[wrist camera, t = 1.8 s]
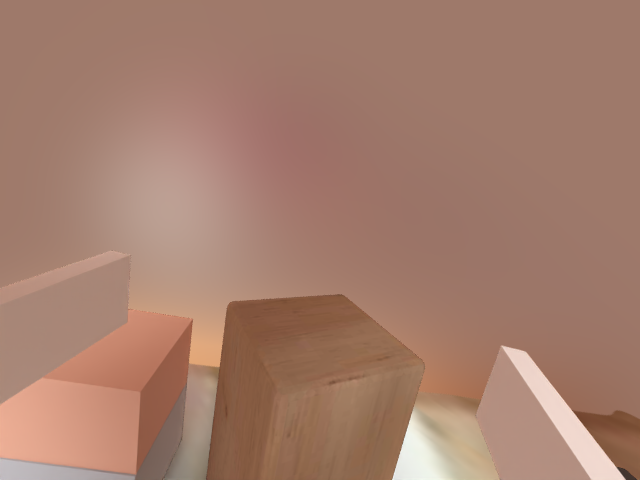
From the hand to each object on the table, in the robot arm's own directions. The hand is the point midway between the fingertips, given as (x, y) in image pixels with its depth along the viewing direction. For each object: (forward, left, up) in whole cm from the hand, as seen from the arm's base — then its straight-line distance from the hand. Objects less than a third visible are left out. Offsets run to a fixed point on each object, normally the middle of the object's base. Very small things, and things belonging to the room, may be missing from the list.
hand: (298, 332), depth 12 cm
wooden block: (-2, -10, -25) cm, 27 cm away
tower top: (+14, -14, -18) cm, 27 cm away
